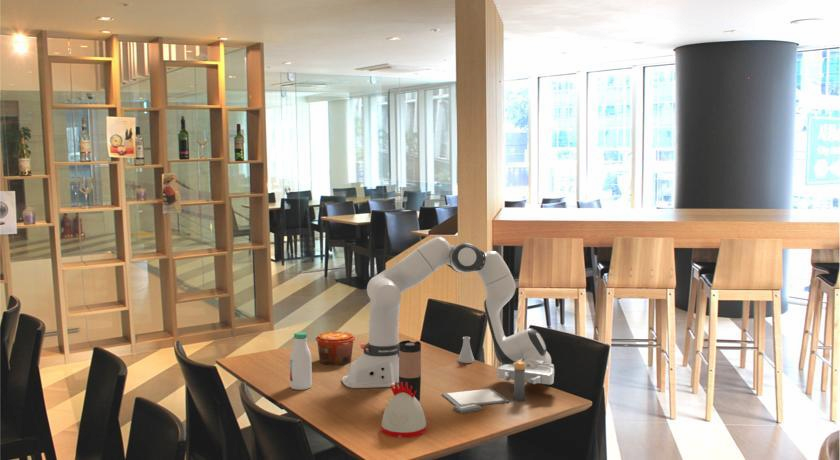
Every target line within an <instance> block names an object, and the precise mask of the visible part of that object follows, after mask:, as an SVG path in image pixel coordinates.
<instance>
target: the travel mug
mask: <svg viewBox="0 0 840 460" xmlns="http://www.w3.org/2000/svg"><path fill="white" fill-rule="evenodd" d="M421 349H422V343H421V341H419V340H416V341H412V340H401V341H400V342H399V383H398V387H399V389H400V385H401V382H403V388H405V384H406V382H407V384H408V390H409V389H410V387H411V386H412V390H411V393H412V394H414V392H415V391H416V390H417V391H416V394H415V396H414V397H415V398H416V399H417V400H418V401H420V400H421V385H422V382H421V381H422V350H421Z"/></svg>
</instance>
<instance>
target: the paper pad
mask: <svg viewBox="0 0 840 460" xmlns="http://www.w3.org/2000/svg"><path fill="white" fill-rule="evenodd" d="M441 396H443V397H444V398H445V399H447V401H449V402H450V403H451V404H452V405H453V406H458V405H463V404H469V403H475V404H477V405H479V406H488V405H496V404H504V403H510V400H509V399H507V398H506V397H504V396H503V395H502V394H500V393H498V391H496V390H494V389H492V388H482V389H481V388H480V389H473V390H462V391H461V390H460V391H453V392H444V393H443V392H442V393H441Z"/></svg>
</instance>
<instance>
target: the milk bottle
mask: <svg viewBox="0 0 840 460" xmlns="http://www.w3.org/2000/svg"><path fill="white" fill-rule="evenodd" d="M293 340H294V344H293V346H292V349H291V350H290V356H289V379H290V380H289V382H290V383H289V385H290V388H291V389H292V390H296V391H297V390H300V391H301V390H303V391H304V390H308V389H310V388H311V387H312V385H313V384H312V383H313V382H312V380H313V379H312V378H313V377H312V375H313V373H312V372H313V370H312V368H313V367H312V354H311V350H310V348H309V346H308V342H307V340H308V334H307V332H304V331H299V332H295V333H293Z"/></svg>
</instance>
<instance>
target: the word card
mask: <svg viewBox="0 0 840 460" xmlns="http://www.w3.org/2000/svg"><path fill="white" fill-rule="evenodd" d="M453 410H454V411H456V412H458V413H460V414H467V413H473V412H477V411H481V410H483V406H482V405H480V406H479V405H477V404H475V403H469V404H463V405H458V406H455V405H453Z"/></svg>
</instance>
